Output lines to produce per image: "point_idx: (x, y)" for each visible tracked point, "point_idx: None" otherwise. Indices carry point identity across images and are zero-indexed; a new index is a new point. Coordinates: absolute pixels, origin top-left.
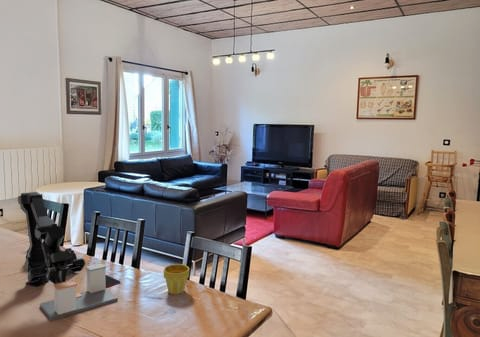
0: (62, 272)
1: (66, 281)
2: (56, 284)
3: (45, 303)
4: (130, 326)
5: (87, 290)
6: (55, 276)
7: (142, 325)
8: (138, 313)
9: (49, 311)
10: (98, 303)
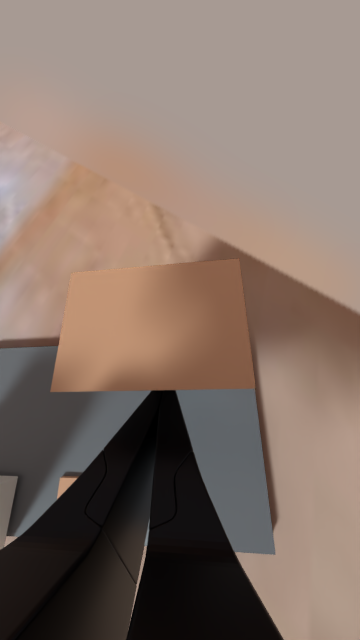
0: (43, 594)
1: (111, 387)
2: (225, 366)
3: (246, 529)
4: (71, 189)
5: (6, 533)
6: (207, 555)
7: (49, 182)
8: (14, 236)
9: (244, 400)
10: (55, 346)
